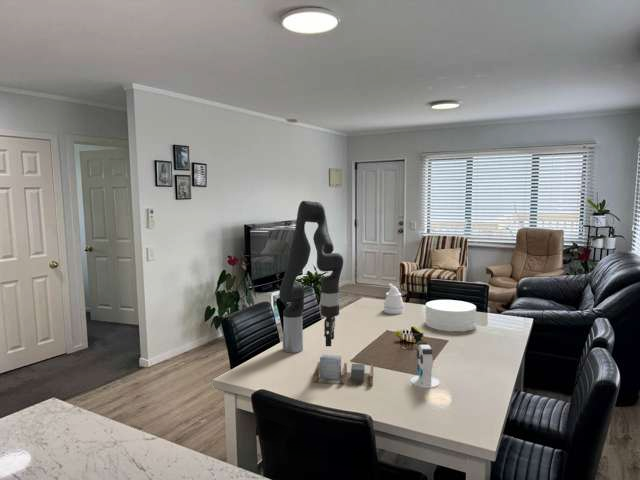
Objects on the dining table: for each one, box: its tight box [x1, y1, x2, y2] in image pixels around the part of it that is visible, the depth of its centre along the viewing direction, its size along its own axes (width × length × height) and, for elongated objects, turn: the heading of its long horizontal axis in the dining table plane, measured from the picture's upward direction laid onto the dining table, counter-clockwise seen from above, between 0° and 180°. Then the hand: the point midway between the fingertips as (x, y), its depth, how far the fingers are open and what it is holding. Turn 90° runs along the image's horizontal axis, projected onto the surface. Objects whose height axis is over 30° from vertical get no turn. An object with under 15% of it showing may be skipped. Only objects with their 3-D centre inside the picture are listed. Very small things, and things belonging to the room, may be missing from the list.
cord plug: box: [350, 363, 366, 382], centre depth 175 cm, size 5×10×5 cm, turn 172°
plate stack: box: [425, 299, 477, 332], centre depth 251 cm, size 28×28×12 cm
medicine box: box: [319, 353, 342, 380], centre depth 174 cm, size 8×4×9 cm, turn 73°
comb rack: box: [313, 361, 374, 387], centre depth 174 cm, size 23×12×5 cm, turn 81°
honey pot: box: [383, 283, 405, 315], centre depth 281 cm, size 13×13×18 cm
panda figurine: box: [409, 340, 441, 389], centre depth 172 cm, size 12×11×15 cm
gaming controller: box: [395, 325, 425, 344], centre depth 224 cm, size 15×6×10 cm
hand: (329, 342), depth 173 cm, fingers open, 8 cm apart
